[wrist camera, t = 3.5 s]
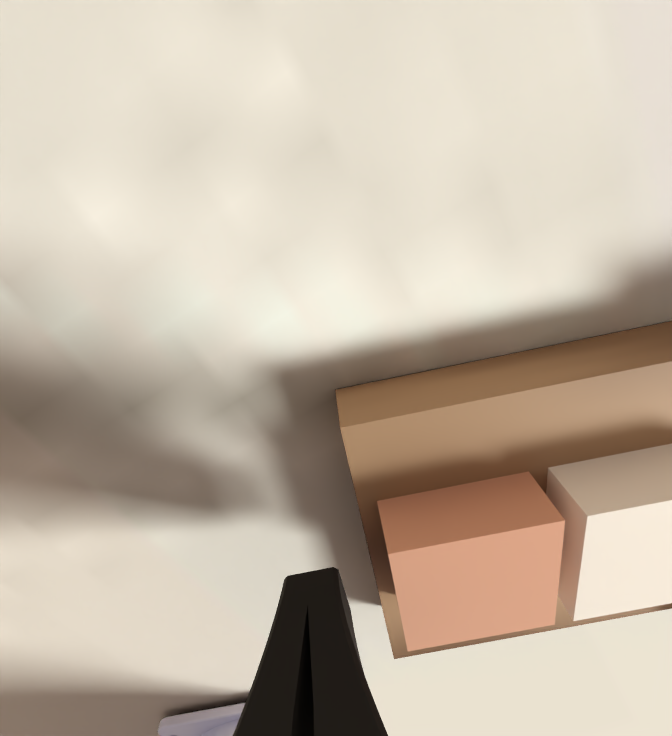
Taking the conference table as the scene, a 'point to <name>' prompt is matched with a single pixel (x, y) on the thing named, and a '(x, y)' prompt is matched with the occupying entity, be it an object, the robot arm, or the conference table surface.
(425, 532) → the terracotta tile
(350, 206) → the conference table surface
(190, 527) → the conference table surface
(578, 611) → the cream tile
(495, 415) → the walnut board
